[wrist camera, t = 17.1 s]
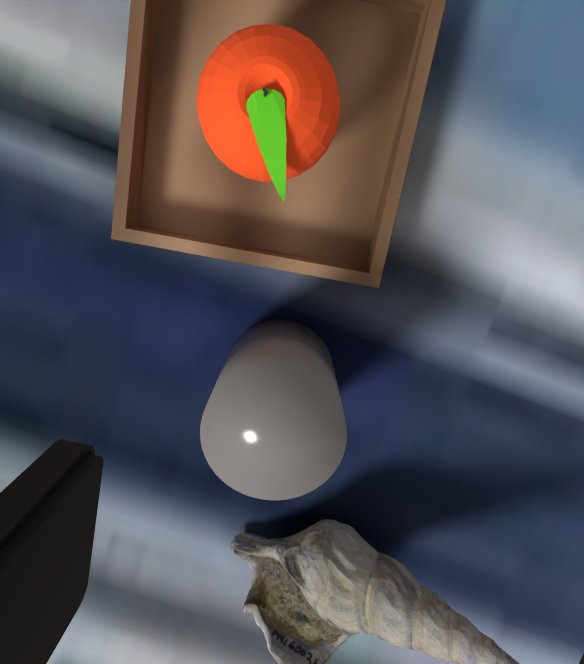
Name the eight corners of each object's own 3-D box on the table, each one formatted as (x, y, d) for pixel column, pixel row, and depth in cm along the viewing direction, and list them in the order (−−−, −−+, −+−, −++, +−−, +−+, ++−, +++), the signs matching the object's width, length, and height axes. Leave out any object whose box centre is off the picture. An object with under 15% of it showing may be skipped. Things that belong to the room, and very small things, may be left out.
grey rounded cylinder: (343, 329, 31) (361, 381, 23) (321, 428, 33) (330, 510, 25) (234, 310, 31) (210, 355, 22) (219, 410, 33) (191, 487, 24)
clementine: (346, 190, 28) (362, 189, 21) (228, 212, 29) (206, 217, 22) (324, 36, 26) (334, -20, 19) (197, 62, 27) (162, 16, 20)
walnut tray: (433, 6, 26) (450, -17, 24) (371, 279, 30) (378, 288, 28) (155, -51, 26) (137, -82, 23) (129, 234, 30) (111, 238, 27)
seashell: (255, 470, 34) (238, 579, 24) (479, 538, 35) (547, 667, 26) (214, 582, 37) (185, 721, 27) (425, 642, 38) (468, 795, 28)
